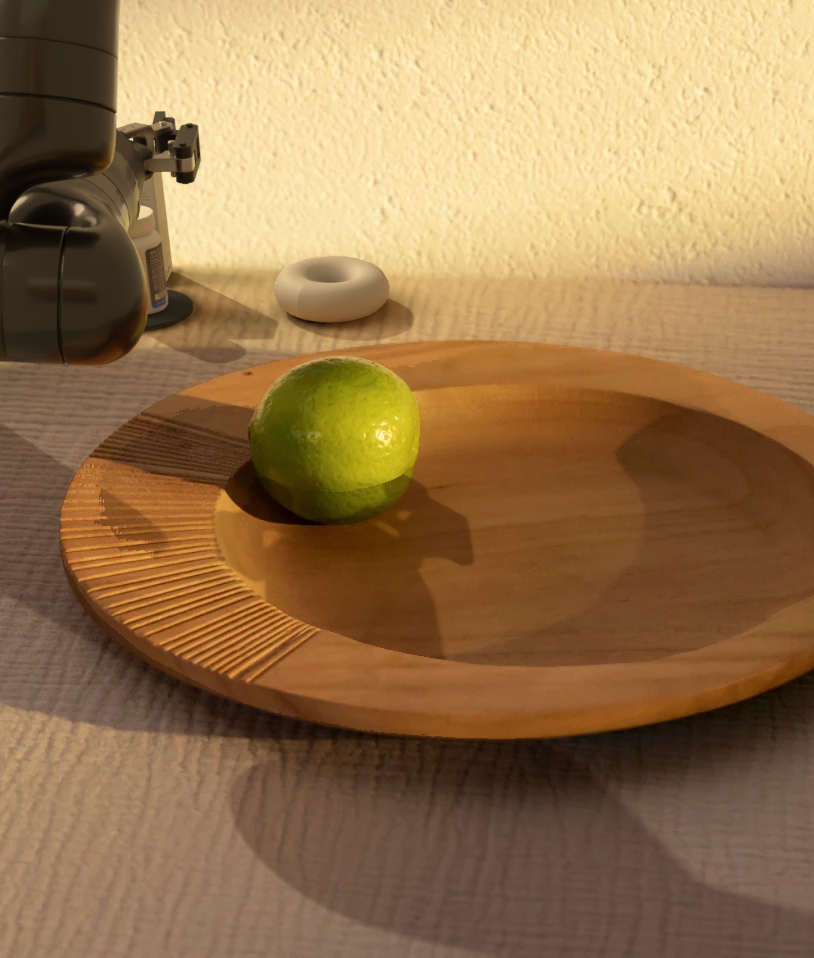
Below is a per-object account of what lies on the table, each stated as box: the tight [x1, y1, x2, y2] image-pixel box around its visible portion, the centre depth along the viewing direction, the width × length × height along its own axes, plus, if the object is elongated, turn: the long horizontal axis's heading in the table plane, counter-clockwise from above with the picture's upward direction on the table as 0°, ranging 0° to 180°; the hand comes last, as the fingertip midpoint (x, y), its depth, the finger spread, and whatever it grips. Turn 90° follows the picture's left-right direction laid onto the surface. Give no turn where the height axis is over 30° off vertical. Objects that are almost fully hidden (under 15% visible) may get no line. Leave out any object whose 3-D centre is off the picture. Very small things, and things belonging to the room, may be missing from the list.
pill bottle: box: [130, 206, 168, 315], centre depth 111 cm, size 5×5×8 cm
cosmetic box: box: [140, 144, 174, 283], centre depth 118 cm, size 6×4×12 cm
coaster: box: [144, 288, 194, 331], centre depth 114 cm, size 9×9×1 cm
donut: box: [273, 255, 391, 324], centre depth 115 cm, size 10×4×10 cm
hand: (100, 125), depth 95 cm, fingers open, 8 cm apart
